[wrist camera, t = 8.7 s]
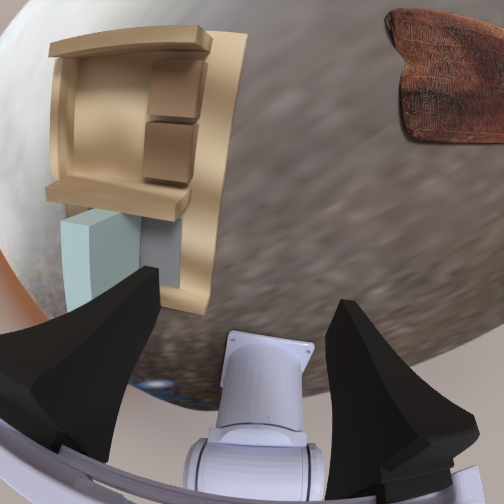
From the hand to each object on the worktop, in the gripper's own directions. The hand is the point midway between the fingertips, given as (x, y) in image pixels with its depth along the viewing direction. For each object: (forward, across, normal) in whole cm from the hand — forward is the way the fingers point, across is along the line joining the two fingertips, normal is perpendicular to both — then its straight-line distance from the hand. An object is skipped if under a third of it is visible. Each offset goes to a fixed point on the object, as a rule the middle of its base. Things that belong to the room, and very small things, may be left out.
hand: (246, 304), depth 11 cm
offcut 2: (+9, +6, -4) cm, 12 cm away
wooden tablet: (+11, -19, -16) cm, 27 cm away
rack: (+10, +9, -2) cm, 14 cm away
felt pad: (+10, +9, +4) cm, 14 cm away
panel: (+8, +9, +4) cm, 13 cm away
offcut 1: (+9, +6, -8) cm, 13 cm away
